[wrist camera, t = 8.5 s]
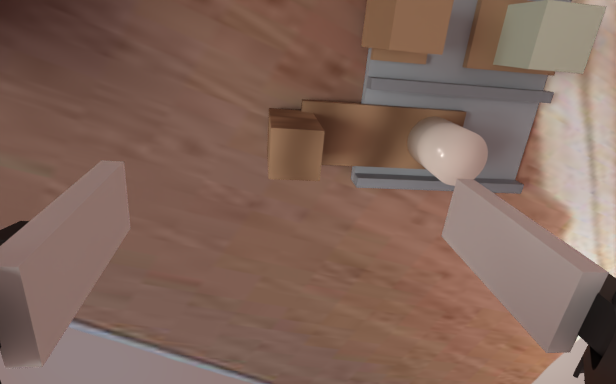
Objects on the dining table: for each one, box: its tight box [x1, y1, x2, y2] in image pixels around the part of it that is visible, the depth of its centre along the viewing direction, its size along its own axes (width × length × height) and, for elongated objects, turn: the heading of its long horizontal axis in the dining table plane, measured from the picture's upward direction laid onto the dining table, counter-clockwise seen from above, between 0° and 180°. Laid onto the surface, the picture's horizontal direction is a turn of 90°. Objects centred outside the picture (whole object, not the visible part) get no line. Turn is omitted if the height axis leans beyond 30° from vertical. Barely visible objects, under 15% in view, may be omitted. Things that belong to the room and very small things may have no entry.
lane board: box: [351, 0, 571, 194], centre depth 33 cm, size 19×20×9 cm
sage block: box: [493, 0, 606, 74], centre depth 32 cm, size 5×5×5 cm
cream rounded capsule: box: [407, 116, 488, 186], centre depth 34 cm, size 5×5×6 cm
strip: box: [267, 100, 467, 181], centre depth 33 cm, size 19×6×8 cm, turn 85°
